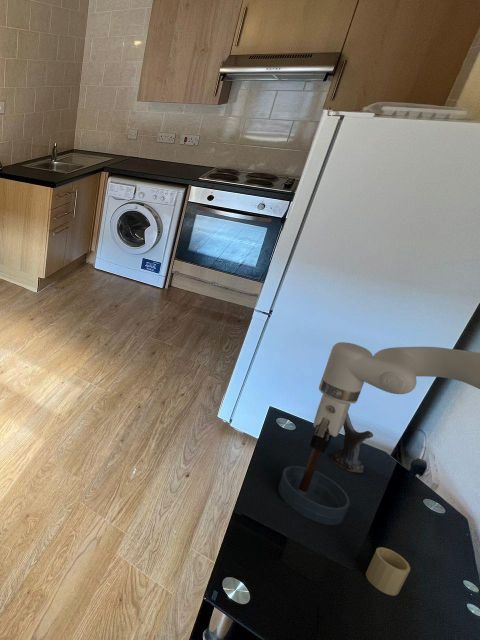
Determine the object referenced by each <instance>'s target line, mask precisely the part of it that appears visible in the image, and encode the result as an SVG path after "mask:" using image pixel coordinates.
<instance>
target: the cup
mask: <svg viewBox="0 0 480 640" xmlns="http://www.w3.org/2000/svg"><path fill="white" fill-rule="evenodd" d="M410 572H411V566H410V564H409V562H408V561H407V560H406V558H404V557H403V556H402V555H400V554H399V553H398V552H396V551H394V550H392V549H389V548H387V547H383V546H380V547H377V548H376V549H375V551H374V553H373V556H372V558H371V560H370V563H369V565H368V567H367V569H366V570H365V577H366V579H367V581H368V582H369V583H370V584H371V585H372V586H373V587H374V588H375V589H377V590H378V591H380V592H381V593H384V594H386V595H388V596H394V597H395V596H397V595H399V593H400V591H401V589H402V587H403V585H404V584H405V582H406V580H407V577H408V576H409V574H410Z"/></svg>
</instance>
